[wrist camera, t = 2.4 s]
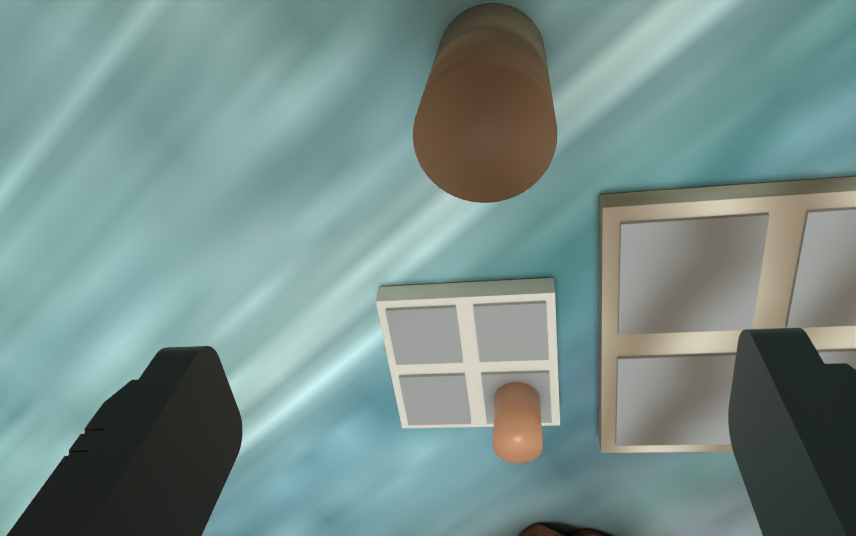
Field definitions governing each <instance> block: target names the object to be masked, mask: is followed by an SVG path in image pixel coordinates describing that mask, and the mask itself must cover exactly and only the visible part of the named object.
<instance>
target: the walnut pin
mask: <svg viewBox="0 0 856 536" xmlns="http://www.w3.org/2000/svg"><path fill="white" fill-rule="evenodd" d="M413 143H414V148H415V153H416V156H417V158H418V161H419V163H420V165H421V167H422V169H423V170H424V172H425V173H426V174H427V176H428V177H429V178H430V179H431V180H432V181H433V182H434V183H435V184H436V185H437V186H438V187H439V188H441V189H442V190H444V191H445V192H447V193H449V194H451V195H453V196H455V197H457V198H460V199H463V200H467V201H471V202H480V203H490V202H498V201H502V200H506V199H509V198H512V197H515V196H517V195H519V194H521V193H523V192H524V191H526V190H527V189H529V188H530V187H531V186H533V185H534V184H535V183H536V182H537V181H538V180H539V179H540V178H541V177H542V175H543V174H544V173H545V171H546V170H547V168H548V167H549V165H550V163H551V161H552V158H553V155H554V152H555V149H556V143H557V125H556V118H555V112H554V106H553V100H552V93H551V87H550V81H549V75H548V68H547V62H546V56H545V50H544V45H543V40H542V38H541V35H540V33H539V31H538V29H537V27H536V26H535V24H534V23H533V22H532V21H531V20H530V19H529V18H528V17H527V16H526V15H525V14H524V13H522V12H521V11H519V10H517V9H515V8H513V7H511V6H508V5H504V4H496V3H489V4H482V5H478V6H475V7H472V8H470V9H468V10H466V11H464V12H463V13H461V14H460V15H459V16H458V17H456V18H455V19H454V20H453V21H452V23H451V24H450V25H449V26H448V28H447V29H446V31H445V33H444V35H443V37H442V40H441V43H440V46H439V49H438V52H437V55H436V58H435V61H434V64H433V67H432V70H431V73H430V75H429V78H428V81H427V84H426V87H425V90H424V93H423V96H422V99H421V102H420V105H419V108H418V111H417V114H416V117H415V121H414V126H413Z"/></svg>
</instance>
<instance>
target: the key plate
mask: <svg viewBox="0 0 856 536" xmlns="http://www.w3.org/2000/svg"><path fill="white" fill-rule="evenodd" d="M376 304H377V309H378V314H379V319H380V323H381V328H382V333H383V338H384V343H385V347H386V352H387V357H388V362H389V367H390V371H391V376H392V381H393V386H394V391H395V395H396V400H397V405H398V410H399V415H400V419H401V424H402V428H440V427H493V426H494V427H493V449H494V451H495V453H496V454H497V455H498V456H499V457H500V458H502V459H503V460H505V461H508V462H512V463H526V462H529V461H532V460H534V459H535V458H537V457H538V456H539V455H540V453H541V452H542V448H543V443H542V426H547V425H560V411H559V385H558V359H557V333H556V307H555V288H554V278H538V279H519V280H500V281H481V282H462V283H443V284H423V285H404V286H385V287H380V289H379V293H378V296H377V300H376Z"/></svg>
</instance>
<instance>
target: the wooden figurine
mask: <svg viewBox="0 0 856 536" xmlns="http://www.w3.org/2000/svg"><path fill="white" fill-rule="evenodd" d="M522 536H564V535H562V534H560V533H558V532H557V531H554V530H552V529H549V528H547V527H545V526H543V525H539V524H537V525H534V526H532V527H531V528H530V529H528V530H526V531H524V532H523V534H522ZM571 536H609V535H601V534H599V533H597V532H594V531H589V530H581V531H578V532H577V533H575V534H574V535H571Z"/></svg>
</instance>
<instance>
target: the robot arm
mask: <svg viewBox="0 0 856 536" xmlns="http://www.w3.org/2000/svg"><path fill="white" fill-rule="evenodd" d="M728 425H729V434H730V440H731V445H732V449H733V452H734V455H735V458H736V461H737V464H738V467H739V469H740V472H741V475H742V478H743V481H744V483H745V486H746V489H747V492H748V495H749V498H750V500H751V503H752V506H753V509H754V512H755V514H756V517H757V520H758V523H759V526H760V529H761V531H762V534H763V536H856V370H855V369H854V368H853V367H851V366H850V365H849V364H847V363H835V364H825V363H824V362H823V360H822V358H821V357H820V355H819V353H818V352H817V350H816V348H815V346H814V345H813V343H812V341H811V340H810V338H809V336H808V335H807V333H806V332H805V331H804V330H803V329H802V328H772V329H744V330H742V332H741V333H740V335H739V339H738V344H737V351H736V359H735V366H734V373H733V380H732V387H731V394H730V401H729V409H728ZM241 442H242V420H241V416H240V412H239V410H238V407H237V404H236V402H235V399H234V396H233V394H232V391H231V388H230V386H229V383H228V380H227V377H226V375H225V372H224V369H223V367H222V364H221V361H220V359H219V356H218V354H217V352H216V351H215V350H214V349H213V348H212V347H210V346H196V347H167V348H163V349H161V350H160V351H159V352H158V353H157V354H156V355H155V357H154V358H153V359H152V361H151V362H150V364H149V365H148V367H147V368H146V369H145V371H144V372H143V374H142V375H141V377H140V378H139V380H131V381H130V382H129V383H127V384H126V385H125V386H124V387H123V388H121V389H120V390H119V391H118V392H116V393H115V394H114V395H113V396H111V397H110V398H109V399H108V400H106V401H105V402H104V403H103V404H102V406H101V407H100V408H99V410H98V411H97V413H96V414H95V415H94V417H93V418H92V419H91V421H90V422H89V424H88V425H87V426H86V428H85V433H84V434H80V436H79V437H78V439H77V440H76V441H75V443H74V444H73V445H72V447H71V448H70V450H69V455H68V456H64V458H63V459H62V460H61V462H60V463H59V465H58V466H57V467H56V469H55V470H54V471H53V473H52V474H51V476H50V477H49V478H48V480H47V481H46V482H45V484H44V485H43V486H42V488H41V489H40V491H39V492H38V493H37V495H36V496H35V497H34V499H33V500H32V502H31V503H30V504H29V506H28V507H27V508H26V510H25V511H24V513H23V514H22V515H21V517H20V518H19V519H18V521H17V522H16V523H15V525H14V526H13V528H12V529H11V530H10V532H9V533H8V534H7V536H202V533H203V531H204V529H205V527H206V525H207V522H208V520H209V518H210V516H211V513H212V511H213V509H214V507H215V505H216V502H217V500H218V498H219V496H220V493H221V491H222V489H223V487H224V485H225V482H226V480H227V478H228V476H229V473H230V471H231V469H232V467H233V465H234V462H235V460H236V458H237V456H238V453H239V450H240V447H241Z"/></svg>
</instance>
